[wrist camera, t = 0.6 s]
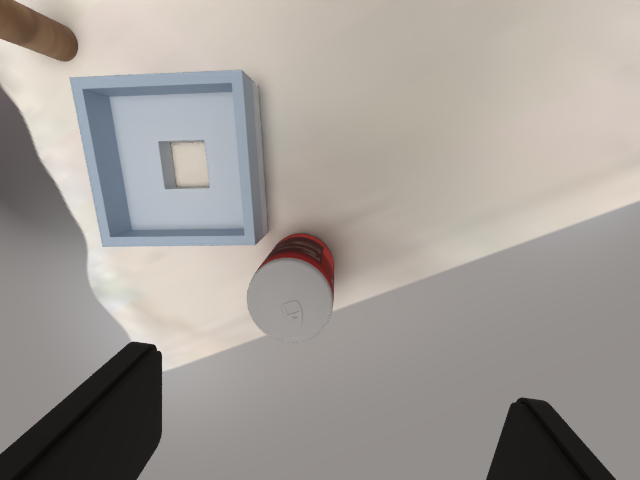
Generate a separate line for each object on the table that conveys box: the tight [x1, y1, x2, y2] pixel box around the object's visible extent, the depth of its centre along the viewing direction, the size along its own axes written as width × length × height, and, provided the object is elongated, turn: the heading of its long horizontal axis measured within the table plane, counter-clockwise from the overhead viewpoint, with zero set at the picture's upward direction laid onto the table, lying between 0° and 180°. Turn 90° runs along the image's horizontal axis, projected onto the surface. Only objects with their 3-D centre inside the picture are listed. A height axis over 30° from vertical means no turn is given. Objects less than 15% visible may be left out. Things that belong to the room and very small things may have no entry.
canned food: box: [247, 234, 334, 343], centre depth 33 cm, size 8×8×11 cm
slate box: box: [70, 70, 268, 247], centre depth 33 cm, size 16×16×6 cm
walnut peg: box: [0, 0, 78, 61], centre depth 29 cm, size 4×4×10 cm
